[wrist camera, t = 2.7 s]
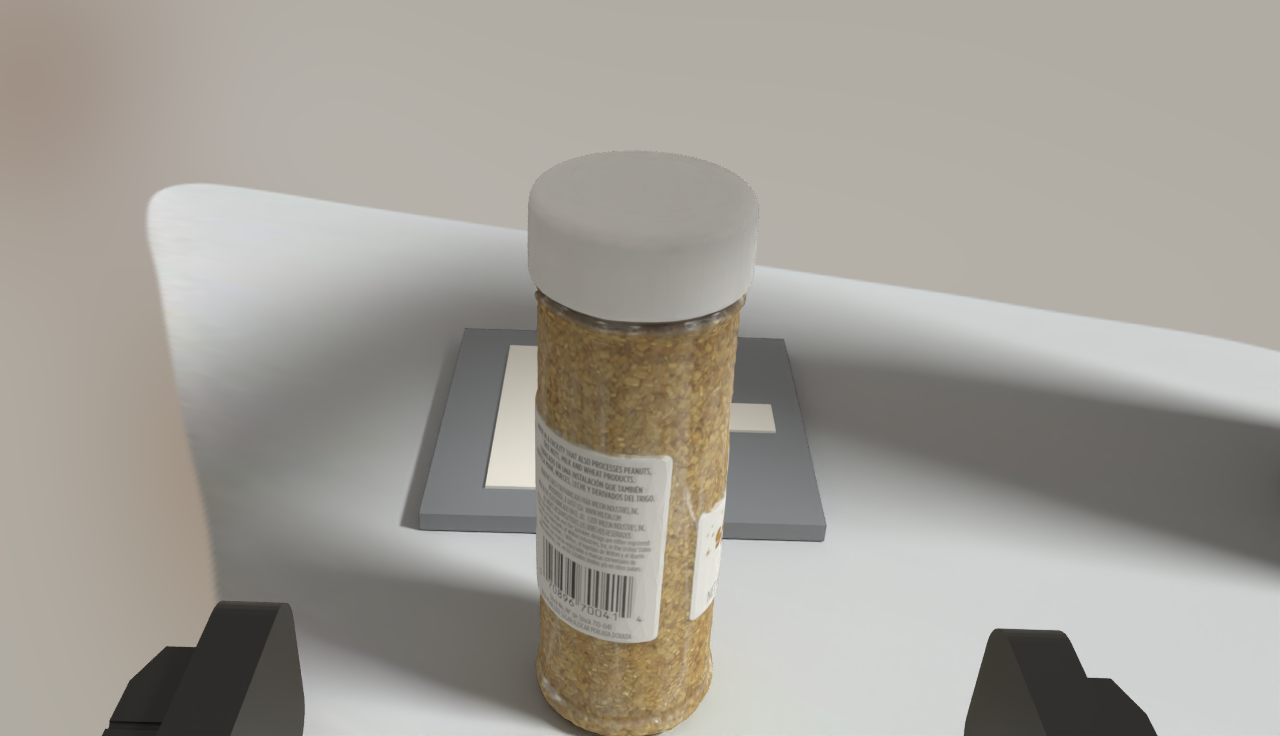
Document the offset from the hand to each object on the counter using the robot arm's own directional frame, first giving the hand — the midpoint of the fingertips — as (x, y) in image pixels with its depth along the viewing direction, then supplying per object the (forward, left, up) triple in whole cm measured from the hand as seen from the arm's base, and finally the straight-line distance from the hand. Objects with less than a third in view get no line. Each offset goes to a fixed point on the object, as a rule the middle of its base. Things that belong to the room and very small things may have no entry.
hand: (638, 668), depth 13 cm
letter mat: (0, -22, -12) cm, 25 cm away
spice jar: (0, -11, -12) cm, 17 cm away
